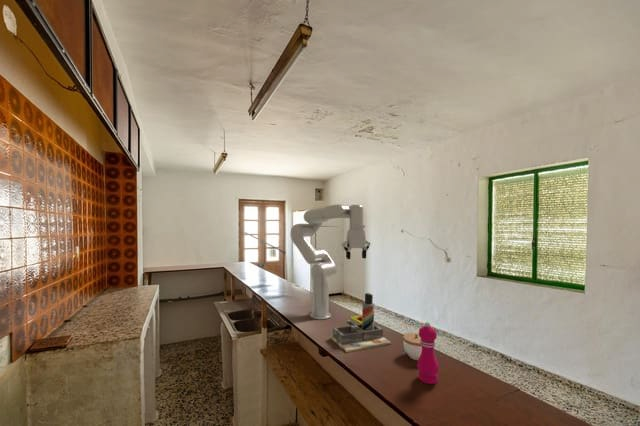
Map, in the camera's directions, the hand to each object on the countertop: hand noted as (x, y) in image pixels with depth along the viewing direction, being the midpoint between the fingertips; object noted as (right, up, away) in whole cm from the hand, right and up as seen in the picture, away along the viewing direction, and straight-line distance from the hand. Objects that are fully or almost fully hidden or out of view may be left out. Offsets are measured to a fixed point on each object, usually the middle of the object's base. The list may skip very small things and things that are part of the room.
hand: (356, 258), depth 152 cm
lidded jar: (+20, -35, -36) cm, 54 cm away
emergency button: (+3, -37, +2) cm, 37 cm away
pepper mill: (+19, -35, -53) cm, 66 cm away
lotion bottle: (+4, -35, -16) cm, 38 cm away
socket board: (-1, -36, -21) cm, 41 cm away
